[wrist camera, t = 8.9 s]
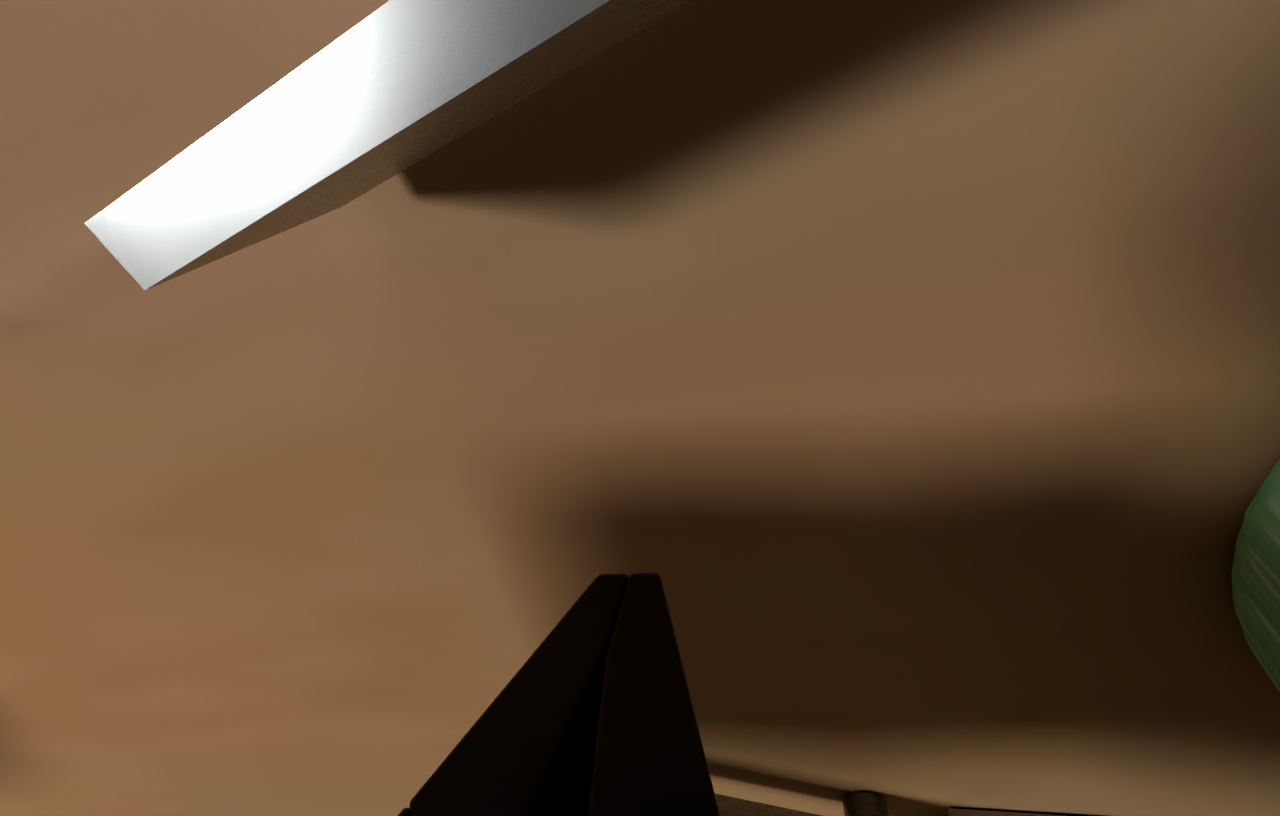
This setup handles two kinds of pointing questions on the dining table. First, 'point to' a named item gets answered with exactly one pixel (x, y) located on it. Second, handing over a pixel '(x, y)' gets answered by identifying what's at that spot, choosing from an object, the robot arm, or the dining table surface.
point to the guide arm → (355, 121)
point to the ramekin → (1260, 575)
